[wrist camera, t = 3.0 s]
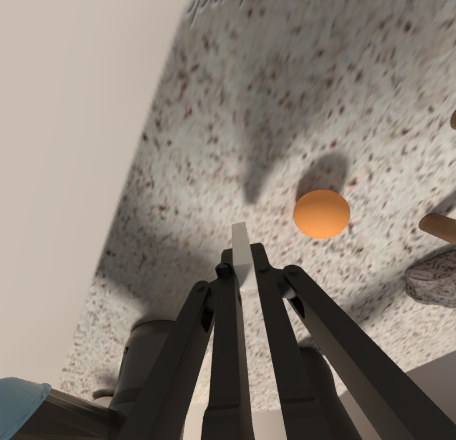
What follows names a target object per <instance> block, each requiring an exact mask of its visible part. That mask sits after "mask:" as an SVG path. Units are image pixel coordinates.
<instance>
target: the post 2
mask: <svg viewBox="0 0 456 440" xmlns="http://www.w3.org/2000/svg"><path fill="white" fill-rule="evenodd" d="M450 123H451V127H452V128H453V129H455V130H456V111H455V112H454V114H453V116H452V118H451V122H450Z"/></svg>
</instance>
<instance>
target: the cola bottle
mask: <svg viewBox="0 0 456 440" xmlns="http://www.w3.org/2000/svg"><path fill="white" fill-rule="evenodd" d="M300 352H301V355H302V358H303V361H304V364H305V367H306V370H307V373H308V376H309V379H310V382H311V385H312V387H313V390H314V393H315V395H316V397H317V399H318V401H319V403H320V405H321V408H322V410H323V413H324V416H325V419H326V422H327V424H328V427H329V430H330V433H331V436H332V439H333V440H362V438H361V436H360V435H359V433H358V431H357V429H356V427H355V426H354V424H353V422H352V420H351V418H350V417H349V415H348V413H347V411H346V410H345V408H344V406H343V404H342V402H341V401H340V399H339V397H338V395H337V392H336V388H335V383H334V378H333V374H332V372H331V369H330V367H329V365H328V364H327V362H326V360H325V359H324V358H323V356H322V355H321V354H320V353H319V352H317V351H316V350H313V349H308V348H304V349H300Z"/></svg>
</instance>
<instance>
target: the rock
mask: <svg viewBox="0 0 456 440" xmlns="http://www.w3.org/2000/svg"><path fill="white" fill-rule="evenodd" d="M405 280H406V282H407V284H406V288H407V291H406V293H407V294H408V295H409V296H410V297H411V298H413V300H415V301H416V302H419V303H421V304H425V305H439V306H443V307H446V308H456V251H453V252H448V253H445V254H442V255H439V256H438V257H436V258H434V259H431V260H428V261H426V262H424V263H420V264H418V265H416V266H413V267H411V268H410V269H408V270H407V271H406V279H405Z"/></svg>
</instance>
